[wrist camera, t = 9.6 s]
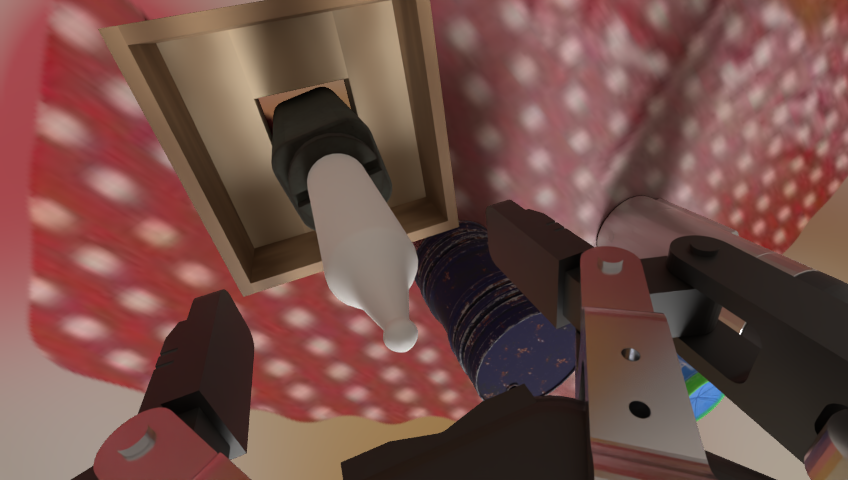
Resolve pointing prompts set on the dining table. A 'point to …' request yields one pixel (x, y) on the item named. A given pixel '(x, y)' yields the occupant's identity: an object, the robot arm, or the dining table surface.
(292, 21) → the peg box
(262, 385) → the dining table surface
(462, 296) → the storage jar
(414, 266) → the candle
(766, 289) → the robot arm
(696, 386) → the snack cup
